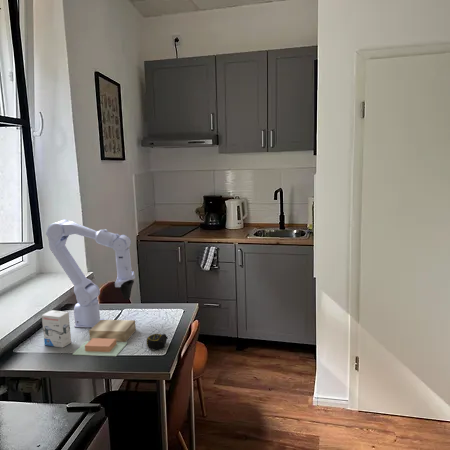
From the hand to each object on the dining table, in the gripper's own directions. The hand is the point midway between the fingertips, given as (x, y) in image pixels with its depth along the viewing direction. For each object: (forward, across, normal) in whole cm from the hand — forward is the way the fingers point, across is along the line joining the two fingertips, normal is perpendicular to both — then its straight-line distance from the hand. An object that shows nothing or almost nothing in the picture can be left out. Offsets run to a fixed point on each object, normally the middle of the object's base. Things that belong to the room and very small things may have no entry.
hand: (126, 298), depth 167 cm
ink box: (+11, -20, +19) cm, 30 cm away
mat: (+10, -22, +1) cm, 25 cm away
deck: (+10, -11, +2) cm, 15 cm away
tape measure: (+11, -18, -19) cm, 29 cm away
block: (+8, -22, +1) cm, 23 cm away
